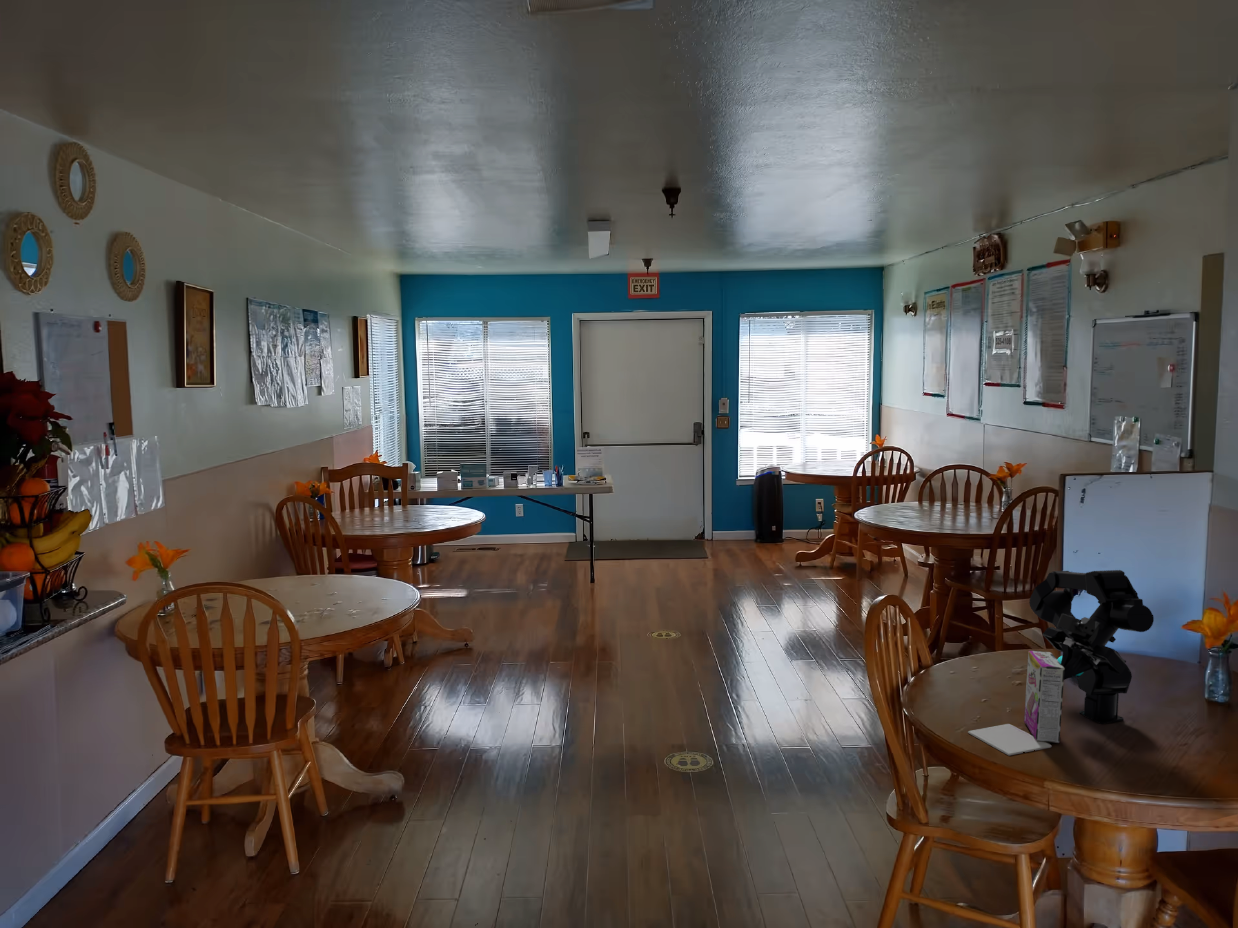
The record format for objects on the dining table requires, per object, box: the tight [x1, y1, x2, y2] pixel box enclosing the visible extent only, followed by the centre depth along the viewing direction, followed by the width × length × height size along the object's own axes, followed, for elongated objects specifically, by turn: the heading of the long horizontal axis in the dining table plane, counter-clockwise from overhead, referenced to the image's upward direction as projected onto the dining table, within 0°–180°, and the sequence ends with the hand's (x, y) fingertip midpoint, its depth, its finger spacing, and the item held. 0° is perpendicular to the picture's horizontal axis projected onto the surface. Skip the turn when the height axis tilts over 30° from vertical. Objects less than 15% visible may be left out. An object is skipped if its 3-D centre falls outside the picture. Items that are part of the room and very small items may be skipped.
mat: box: [967, 723, 1052, 756], centre depth 191 cm, size 11×12×1 cm
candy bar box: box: [1023, 650, 1065, 744], centre depth 193 cm, size 11×5×16 cm, turn 168°
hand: (1059, 679), depth 195 cm, fingers closed
